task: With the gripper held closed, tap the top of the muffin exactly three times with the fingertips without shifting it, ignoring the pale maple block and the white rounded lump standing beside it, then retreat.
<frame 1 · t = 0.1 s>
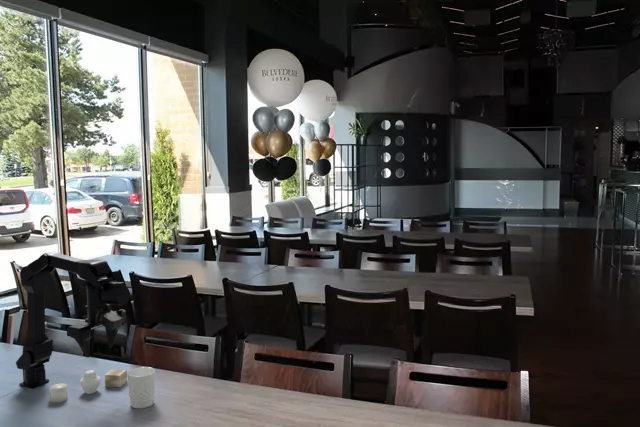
hand: (99, 351, 174), 14 cm above the table, fingers open, 9 cm apart
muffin: (90, 392, 179), on the table
white rounded lump: (58, 399, 174), on the table
maple block: (116, 384, 185), on the table
white cup: (142, 404, 170), on the table
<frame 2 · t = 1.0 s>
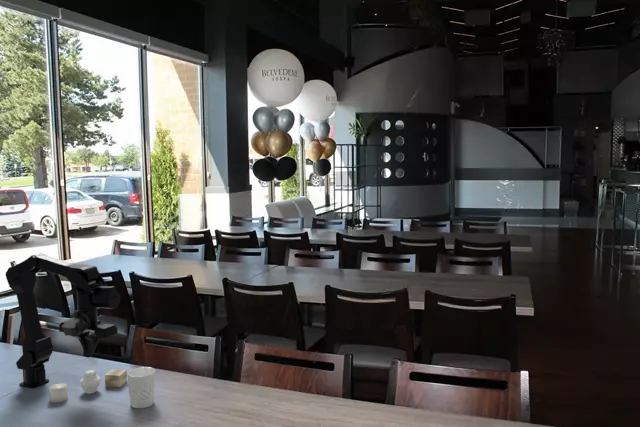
hand: (89, 354, 178), 12 cm above the table, fingers closed
nothing on the table moved.
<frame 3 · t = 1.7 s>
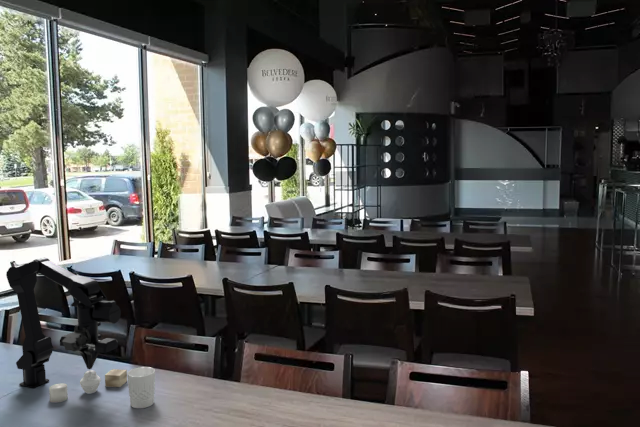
hand: (89, 368, 178), 7 cm above the table, fingers closed
nothing on the table moved.
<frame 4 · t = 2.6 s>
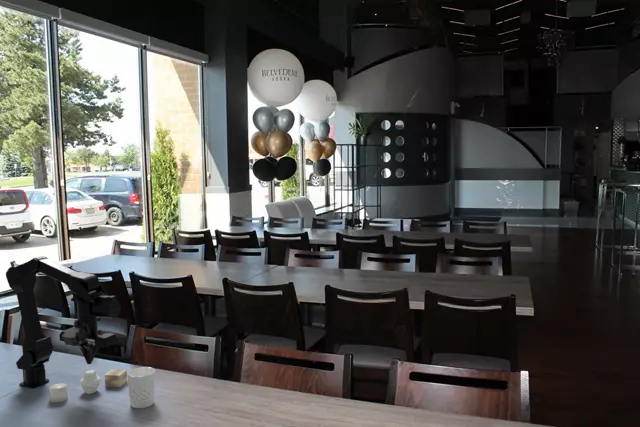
hand: (89, 363, 178), 9 cm above the table, fingers closed
nothing on the table moved.
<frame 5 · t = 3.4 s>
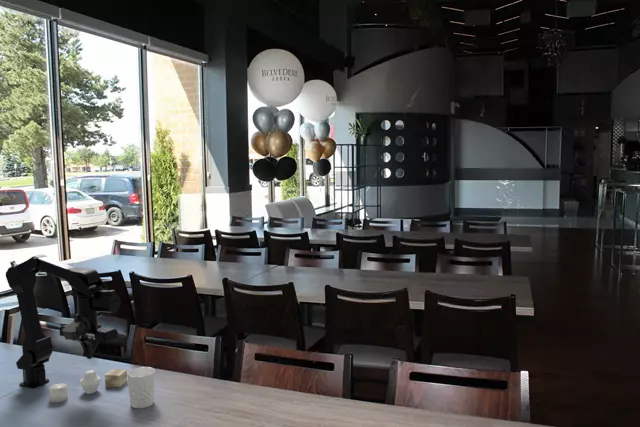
hand: (89, 358, 178), 11 cm above the table, fingers closed
nothing on the table moved.
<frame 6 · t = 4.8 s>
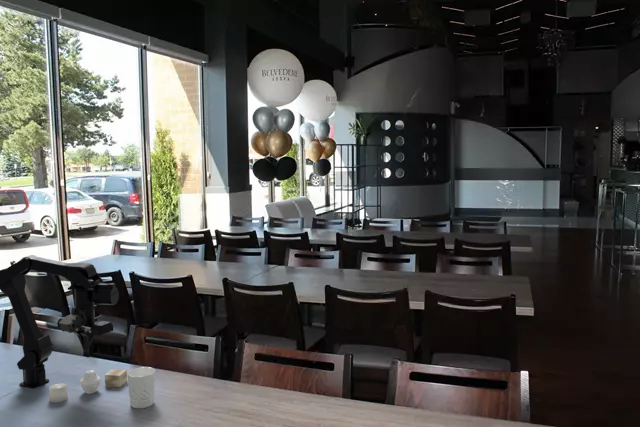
hand: (85, 350, 183), 12 cm above the table, fingers closed
nothing on the table moved.
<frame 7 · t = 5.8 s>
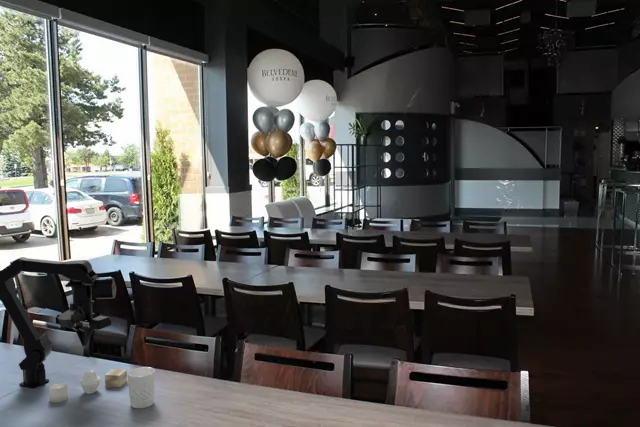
hand: (84, 345, 187), 12 cm above the table, fingers closed
nothing on the table moved.
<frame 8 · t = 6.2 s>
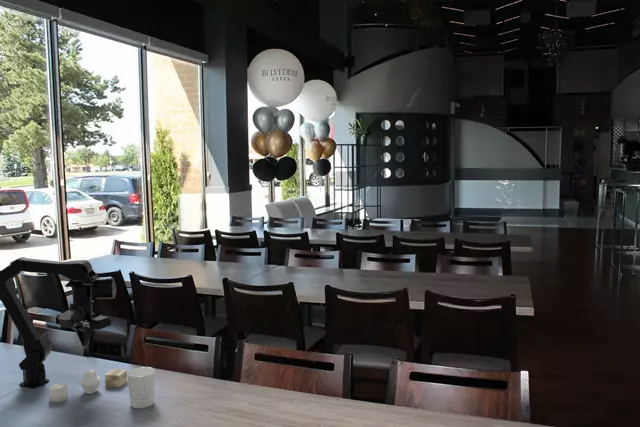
hand: (84, 345, 187), 12 cm above the table, fingers closed
nothing on the table moved.
at the end: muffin moved 0.2 cm from its start; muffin tilted 0°; maple block moved 0.2 cm from its start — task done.
